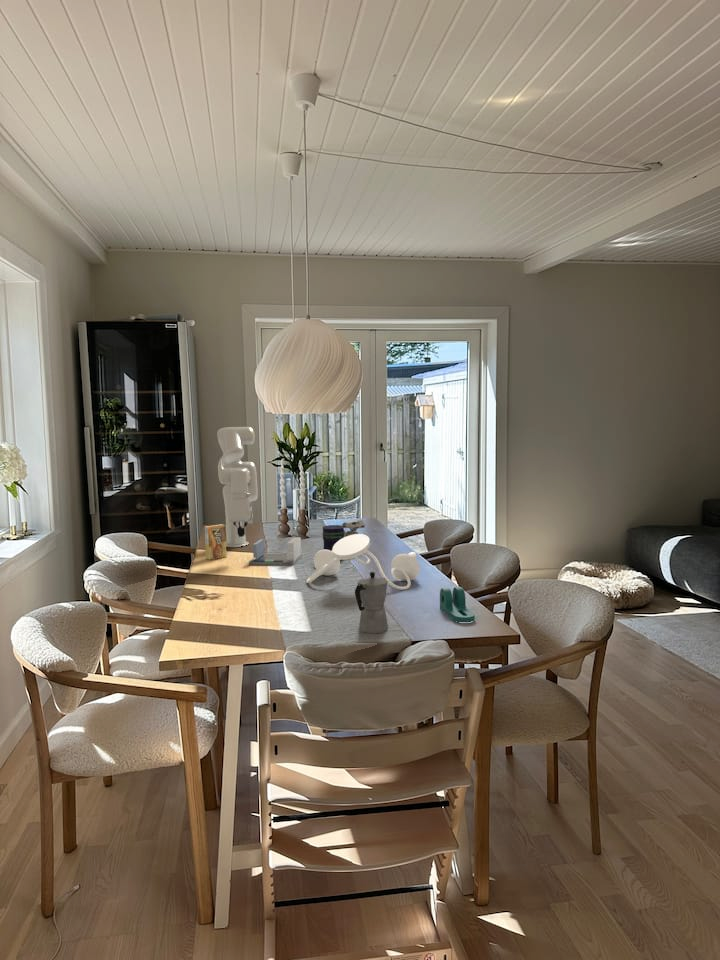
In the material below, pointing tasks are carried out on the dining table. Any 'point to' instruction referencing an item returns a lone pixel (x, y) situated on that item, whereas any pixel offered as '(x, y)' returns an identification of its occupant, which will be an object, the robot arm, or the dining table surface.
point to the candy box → (215, 541)
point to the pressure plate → (258, 549)
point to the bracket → (455, 605)
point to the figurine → (353, 527)
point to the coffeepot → (372, 604)
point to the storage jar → (332, 535)
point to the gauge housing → (281, 555)
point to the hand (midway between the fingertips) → (241, 536)
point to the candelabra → (356, 545)
